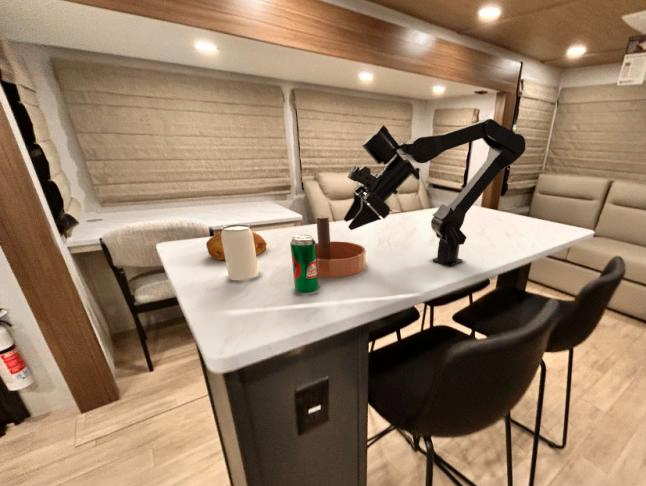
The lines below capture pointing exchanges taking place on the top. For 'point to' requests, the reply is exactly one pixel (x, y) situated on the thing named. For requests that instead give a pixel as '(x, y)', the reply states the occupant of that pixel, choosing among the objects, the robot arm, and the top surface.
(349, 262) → the bowl
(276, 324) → the top surface
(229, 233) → the can
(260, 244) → the croissant
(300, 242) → the soda can
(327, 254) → the brown tall block
